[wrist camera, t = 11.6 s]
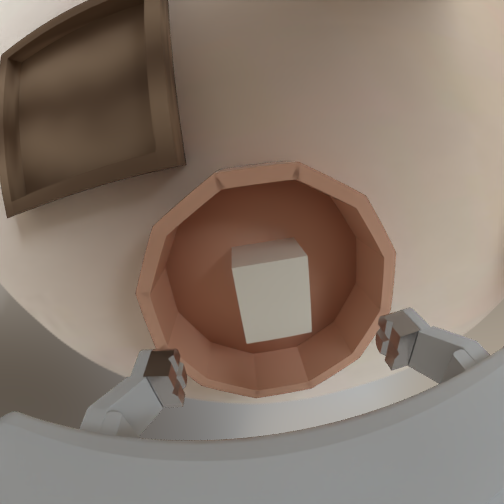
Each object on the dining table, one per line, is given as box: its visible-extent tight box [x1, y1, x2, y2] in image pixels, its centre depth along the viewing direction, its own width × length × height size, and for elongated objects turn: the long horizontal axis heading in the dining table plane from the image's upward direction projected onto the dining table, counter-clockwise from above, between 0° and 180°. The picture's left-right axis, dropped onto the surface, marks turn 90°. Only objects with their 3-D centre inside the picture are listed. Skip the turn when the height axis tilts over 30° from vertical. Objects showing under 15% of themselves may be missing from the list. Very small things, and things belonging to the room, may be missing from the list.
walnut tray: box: [0, 0, 186, 218], centre depth 12 cm, size 14×14×3 cm
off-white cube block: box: [232, 237, 312, 344], centre depth 17 cm, size 5×4×4 cm
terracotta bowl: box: [136, 161, 396, 398], centre depth 17 cm, size 15×15×5 cm
